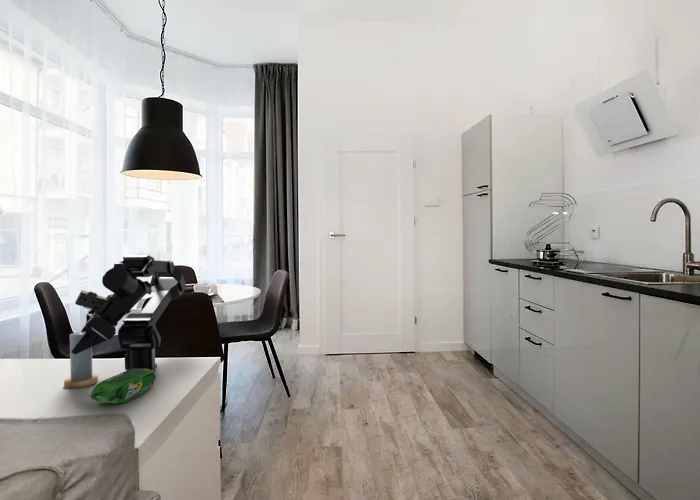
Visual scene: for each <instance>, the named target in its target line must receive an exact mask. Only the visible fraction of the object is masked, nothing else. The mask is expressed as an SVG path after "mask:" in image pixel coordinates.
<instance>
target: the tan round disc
mask: <svg viewBox="0 0 700 500" xmlns="http://www.w3.org/2000/svg"><path fill="white" fill-rule="evenodd" d="M98 383H99V376H98V374H97V373H92V378H91V379H88V380H84V381H71V376H70V377H67V378H66V379H64V380H63V388H65V389H72V390H73V388H75V389H81V387H83V388H87V387H89V386H90V385H91V386H93V385H95V384H98Z"/></svg>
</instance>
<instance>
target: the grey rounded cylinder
mask: <svg viewBox="0 0 700 500" xmlns="http://www.w3.org/2000/svg"><path fill="white" fill-rule="evenodd" d="M84 334H85V332H81V331H78V332H73V333H70V334H69V358H70V363H69V365H70V367H69V368H70V377H71V381H84V380H88V379H91V378H92V374H93V347H90V348H88V349H86V350H84V351H82V352H80V353H77V354H73V353H72V352H71V351H72V350H73V348H74V347H75V346H76V344H77V343H78V342H79V340H80V339H81V338H82V336H83V335H84Z"/></svg>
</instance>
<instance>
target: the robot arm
mask: <svg viewBox="0 0 700 500" xmlns="http://www.w3.org/2000/svg"><path fill="white" fill-rule="evenodd" d="M104 273H105V274H104V275H102V280H101V282H102V285H103V287H105V289H107V290H109V292H111V293H112V294H108V295H107V296H106V297H105V296H102V295H98V293H97V292H93V291H92V290H89V291H86V290H83V289H81V291H80V292H79V294H78V296H77V298H76V301H75V303H74V304H75V305H77V306H80V307H85V308H89V310H88V311H87V313H86V315H85V316H86V318H85V319H86V320H85V325H84V326H83V328H82V329H81V330H80V332H85V334H84V335H83V336H82V338H81V339H80V340H79V342H78V343H77V344H76V346H75V347H74V348H73V350H72V351H71V352H72V353H73V354H77V353H80V352H82V351H84V350H86V349H88V348H90V347H92V348H93V347H94V346H95V347H96V346H97V345H100V344H101V343H105V342H107V341H108V340H109V341H110V340H111V339H112V338H113V337H114V336H115V335H116V333H117V337H118V342H119V346H120V350H123V351H124V350H126V353H125V354H124V371H127V370H129V369H151V370H153V371H154V370H155V369H156V368H157V366H158V364H157V363H156V349H157V348H160V347H161V342H162V336H161V335H160V333H159V331H158V329H157V327H156V323H157V322H158V320H159V319H160V317H161V316H162V315H163V313H164V311H165V310H166V308H167V307H168V305H169V304H170V303H171V301H172V300H175V299H178V298H180V297H181V296H182V295H183V293H184V292H185V291H186V288H187V287H186V285H187V283H186V279H185V276H184V274H183V273H182V272H181V271H180V270H179V269H178V268H177V267H176V266H175V263H174V262H173V261H171V260H169V259H168V260H158V259H157V260H155V258H154V257H153V256H151V255H147V254H146V255H145V254H144V255H135V254H134V255H124V256H123V257H122V259H121V260H120V261H119V262H117V263H114V264H113V267H112V268H109V269H108V270H107V271H106V272H104ZM159 274H160V275H161V274H162V275H163V274H166V275H167V274H169V275H170V276H159ZM153 276H154V277H153ZM149 277H153V280H152V283H150V282H149V281H148V280H145V281H143V280H142V279H140V278H149ZM152 284H153V285H152ZM153 286H154V289H155V293H154V294H153V295H152V297H150V299H149V301H147V303H146V304H145V306H144V307H143V308H142V310H141V311H140V312H131V311H132V309H133V308H134V307H135V306H136V305H137V304H138V303H139V302H140V301H141V300H142V299H143V298H144V297H146V295H151V294H152V292H153V291H152V288H153ZM126 315H127V316H126ZM125 316H126V318H125V319H124V320H122V319H123V318H124V317H125ZM121 320H122V324H121V325H120V326H119V328H118V330H117V331H118V332H116V327H117V326H118V325H119V321H121Z"/></svg>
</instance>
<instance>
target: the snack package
mask: <svg viewBox="0 0 700 500" xmlns="http://www.w3.org/2000/svg"><path fill="white" fill-rule="evenodd" d="M156 378H157V377H156V373H155V371H154V370H151V369H129V370H124V371H123V372H121V373H119V374H115V375H113V376H111V377H108V378H106V379H104V380H101V381H100V382H97V383H96V385H95V386H94V387H93V389H92V390H91V394H90V398H91V400H93V401H96V402H97V403H99V404H114V405H115V404H116V405H117V404H123V403H126V402H128V401H130V400H132V399H134V398H136V397H139V396H140V395H141V394H143V393H145V392H147V391H149V390H150V389H151V388H152V386H154V383H155V381H156Z"/></svg>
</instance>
